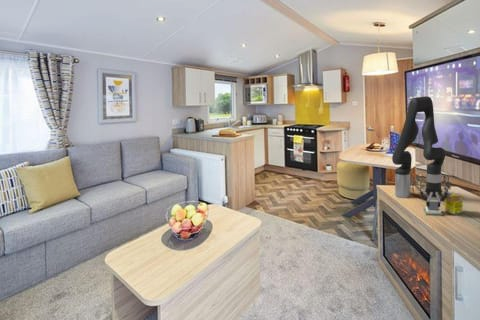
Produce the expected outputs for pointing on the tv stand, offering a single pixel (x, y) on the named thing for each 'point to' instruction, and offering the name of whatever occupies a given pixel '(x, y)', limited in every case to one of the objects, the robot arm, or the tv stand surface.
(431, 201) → the plug
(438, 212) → the socket board
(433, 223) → the tv stand surface
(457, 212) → the supplement box
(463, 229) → the tv stand surface
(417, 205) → the tv stand surface
